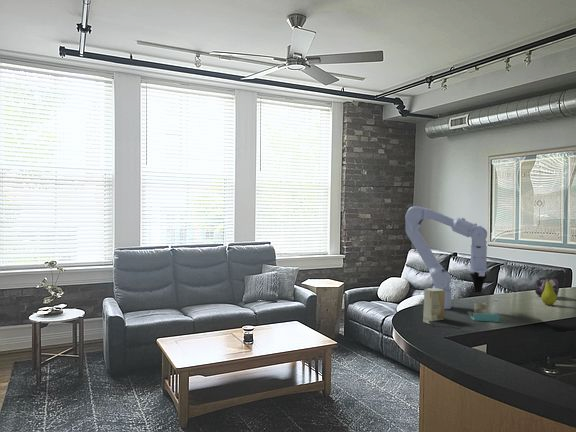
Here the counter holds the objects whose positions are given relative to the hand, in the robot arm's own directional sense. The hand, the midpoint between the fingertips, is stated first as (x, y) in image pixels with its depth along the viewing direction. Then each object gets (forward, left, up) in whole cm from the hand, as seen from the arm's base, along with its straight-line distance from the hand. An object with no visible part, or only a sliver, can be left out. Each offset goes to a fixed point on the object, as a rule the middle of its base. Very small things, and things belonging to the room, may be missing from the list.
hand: (477, 292), depth 181 cm
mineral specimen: (+39, +46, -9) cm, 61 cm away
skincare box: (-18, -18, -9) cm, 27 cm away
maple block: (0, -6, -7) cm, 10 cm away
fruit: (+34, +27, -9) cm, 44 cm away
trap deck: (0, -9, -9) cm, 13 cm away
